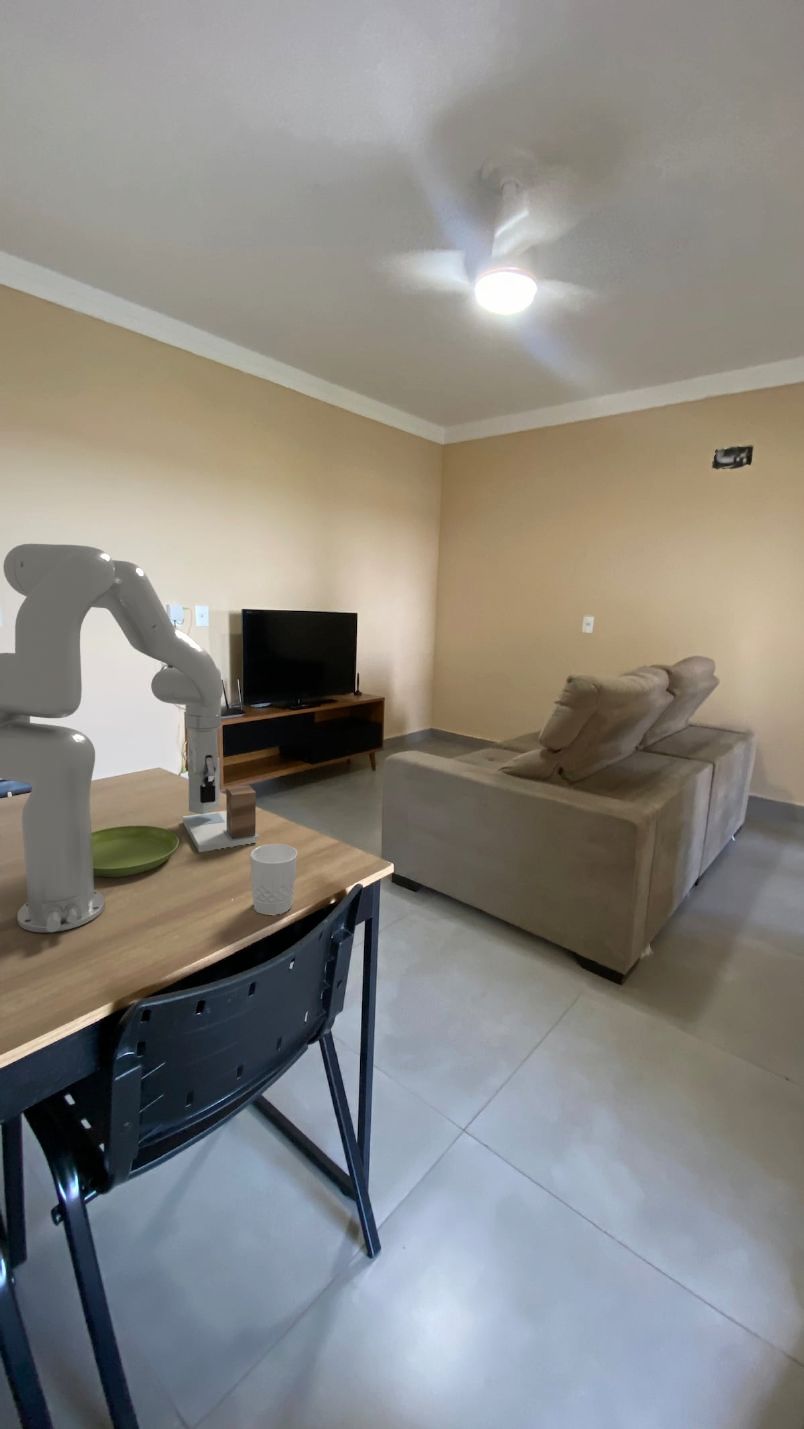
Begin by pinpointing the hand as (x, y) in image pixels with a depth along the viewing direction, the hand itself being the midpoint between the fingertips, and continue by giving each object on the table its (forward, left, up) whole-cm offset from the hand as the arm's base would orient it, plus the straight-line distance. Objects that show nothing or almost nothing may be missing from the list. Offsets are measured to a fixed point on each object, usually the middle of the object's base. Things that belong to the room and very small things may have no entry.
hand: (204, 796), depth 136 cm
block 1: (-11, -5, -1) cm, 12 cm away
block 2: (-11, -5, -6) cm, 14 cm away
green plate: (-11, +18, -8) cm, 22 cm away
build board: (-5, -2, -7) cm, 9 cm away
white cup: (-41, -3, -8) cm, 42 cm away
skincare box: (0, 0, -4) cm, 4 cm away
